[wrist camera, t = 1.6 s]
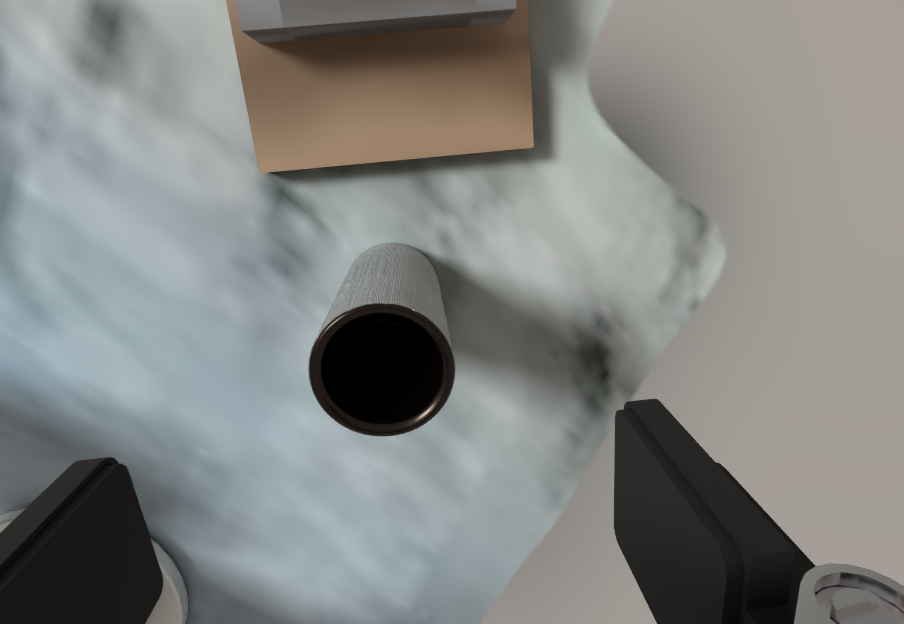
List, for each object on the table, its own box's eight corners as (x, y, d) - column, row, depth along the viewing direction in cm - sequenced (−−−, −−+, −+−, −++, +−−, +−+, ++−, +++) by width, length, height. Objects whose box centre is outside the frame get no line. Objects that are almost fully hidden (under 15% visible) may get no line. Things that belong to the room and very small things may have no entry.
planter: (457, 279, 26) (485, 360, 17) (401, 348, 27) (396, 462, 17) (383, 222, 25) (366, 272, 15) (327, 295, 26) (277, 386, 16)
